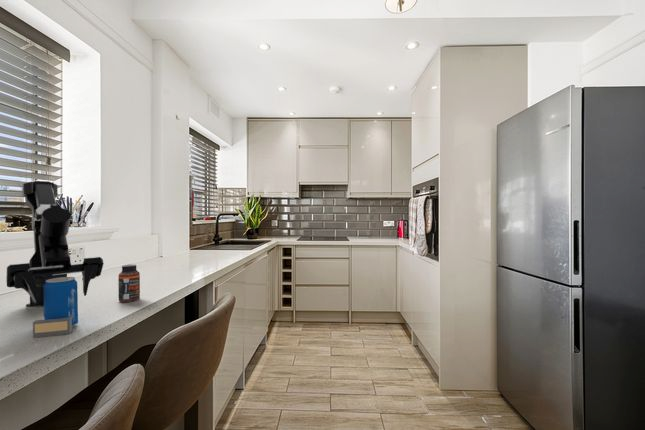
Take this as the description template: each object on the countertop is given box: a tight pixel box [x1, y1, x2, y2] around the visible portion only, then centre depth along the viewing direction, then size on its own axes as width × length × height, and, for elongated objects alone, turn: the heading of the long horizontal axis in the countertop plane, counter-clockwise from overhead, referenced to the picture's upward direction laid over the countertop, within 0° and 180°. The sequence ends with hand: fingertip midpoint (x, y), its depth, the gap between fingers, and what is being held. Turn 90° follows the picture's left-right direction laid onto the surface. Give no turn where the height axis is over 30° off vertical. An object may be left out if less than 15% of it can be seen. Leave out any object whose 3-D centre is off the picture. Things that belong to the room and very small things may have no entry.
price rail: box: [32, 317, 73, 338], centre depth 76 cm, size 7×1×4 cm, turn 107°
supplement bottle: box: [117, 264, 141, 303], centre depth 105 cm, size 6×6×11 cm
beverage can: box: [43, 276, 79, 328], centre depth 80 cm, size 6×6×12 cm
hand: (62, 298), depth 79 cm, fingers open, 9 cm apart
